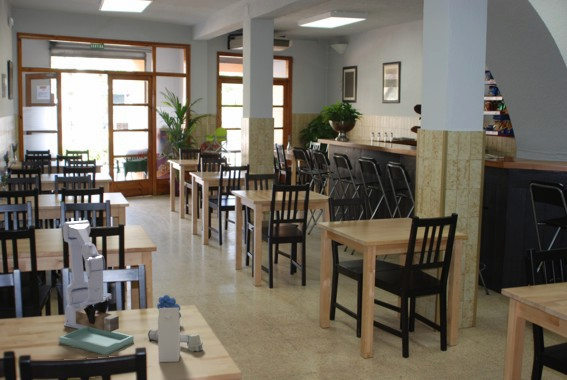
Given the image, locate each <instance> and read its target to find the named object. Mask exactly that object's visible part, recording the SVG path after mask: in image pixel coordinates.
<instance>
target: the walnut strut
mask: <svg viewBox="0 0 567 380" xmlns="http://www.w3.org/2000/svg"><path fill="white" fill-rule="evenodd" d="M119 318H120V317H119V315H117V314H111V313H107V312H106V313H103V312H99V311H98V310H96V312H95V323H94V324H90V323H89V320H88V317H87V315H86V313H85V311H84V309H80V310H78V311H76V324H80V325H84V326H88V327H91V328H95V329H99V330H103V331H107V332H112V331H114V332H115V331H116V330H119V329H120V322H119V321H120V319H119Z"/></svg>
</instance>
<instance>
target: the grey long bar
mask: <svg viewBox="0 0 567 380" xmlns="http://www.w3.org/2000/svg"><path fill="white" fill-rule="evenodd" d="M147 337H148V339H149V340H151V341H152V340H153V341H156V342H158V328H157V329H150V330H148V333H147ZM180 343H186V346H187V347H188V351H190V352H201V351H202V350H203V349H204V348H203V344H204V342H203V341H202V340H201V337H200V334H199V333H191V334H187V333H181V332H180Z"/></svg>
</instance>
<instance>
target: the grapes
mask: <svg viewBox="0 0 567 380" xmlns="http://www.w3.org/2000/svg"><path fill="white" fill-rule="evenodd" d="M156 307H157V309H158V310H159V308H179V315H180V318H181V317H182V314H181V312H180V311H181V306H180V305H179V304H178V303H177V300H176V298H174V297H170V296H169V295H168V294H164V295H163V296H160V297H159V298H158V304H157V305H156Z"/></svg>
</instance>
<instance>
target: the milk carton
mask: <svg viewBox="0 0 567 380" xmlns="http://www.w3.org/2000/svg"><path fill="white" fill-rule="evenodd" d="M179 312H180V311H179V308H159V309H158V320H157V329H158V341H157V342H158V344H157V345H158V347H157V348H158V362H159V363H167V362H168V363H170V362H171V363H174V362H175V363H176V362H179V360H180V356H181V342H180V333H181V327H180V326H181V325H180V324H181V323H180V322H181V321H180V319H181V317H180V315H179Z"/></svg>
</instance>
